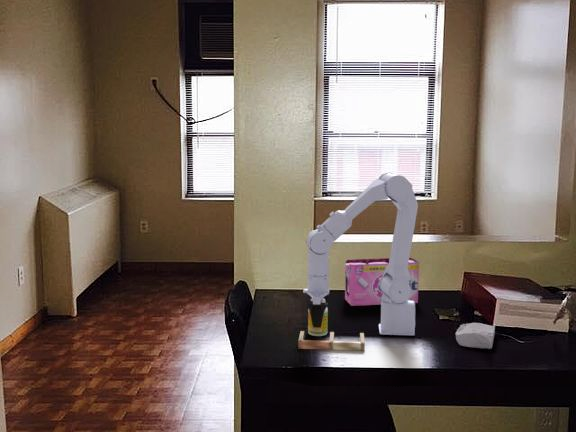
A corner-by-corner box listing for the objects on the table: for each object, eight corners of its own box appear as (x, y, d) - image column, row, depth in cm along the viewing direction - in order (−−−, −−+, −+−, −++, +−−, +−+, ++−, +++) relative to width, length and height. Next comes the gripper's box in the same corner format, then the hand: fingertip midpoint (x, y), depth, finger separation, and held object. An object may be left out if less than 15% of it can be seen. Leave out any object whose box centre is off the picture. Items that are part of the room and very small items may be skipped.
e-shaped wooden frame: (363, 340, 171) (363, 333, 170) (364, 350, 163) (364, 343, 163) (300, 338, 172) (300, 330, 172) (298, 348, 164) (298, 341, 164)
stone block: (455, 352, 167) (495, 350, 164) (452, 334, 167) (492, 331, 164) (460, 339, 178) (497, 337, 175) (457, 323, 178) (494, 319, 175)
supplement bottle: (325, 337, 173) (326, 302, 171) (306, 335, 174) (306, 301, 173) (328, 330, 178) (329, 297, 177) (309, 329, 179) (310, 296, 178)
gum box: (346, 306, 201) (347, 264, 199) (340, 299, 209) (341, 259, 207) (418, 303, 206) (420, 262, 204) (409, 296, 213) (411, 256, 211)
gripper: (305, 267, 180) (305, 314, 182) (301, 280, 166) (301, 330, 168) (330, 268, 179) (329, 314, 182) (328, 281, 165) (327, 331, 167)
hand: (317, 322), depth 175 cm, fingers open, 7 cm apart
